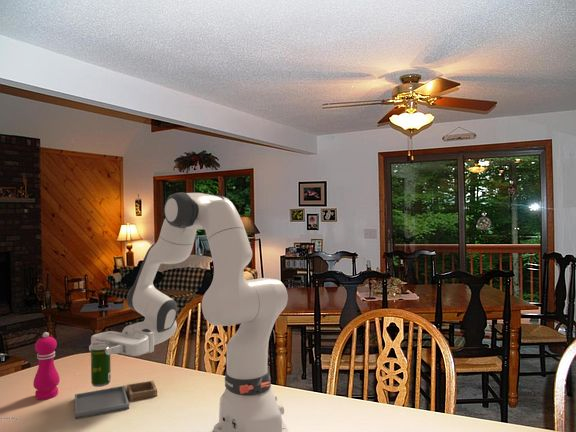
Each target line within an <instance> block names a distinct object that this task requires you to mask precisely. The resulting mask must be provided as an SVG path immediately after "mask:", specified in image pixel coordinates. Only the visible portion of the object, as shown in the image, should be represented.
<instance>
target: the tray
mask: <svg viewBox="0 0 576 432" xmlns="http://www.w3.org/2000/svg"><path fill="white" fill-rule="evenodd" d="M126 391H127V390H126V388H125V386H124V385H122V386H114V387H109V388H108V387H107V388H104V389H97V390H92V391H85V392H81V393H74V409H75V410H74V413H75V414H74V415H75V416H74V419H75V420H78V419H82V418H89V417H92V416H98V415H104V414H109V413H113V412H118V411H123V410H128V409H129V410H130V401H129V399H128V398H129V397H128V394H127V393H126Z"/></svg>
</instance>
